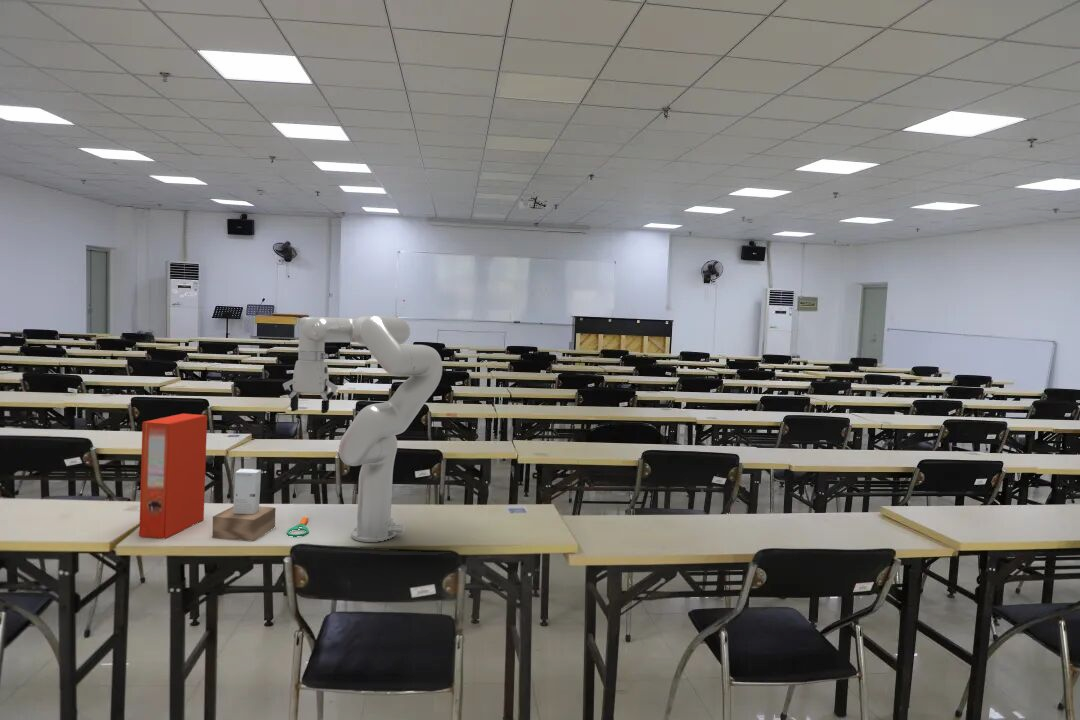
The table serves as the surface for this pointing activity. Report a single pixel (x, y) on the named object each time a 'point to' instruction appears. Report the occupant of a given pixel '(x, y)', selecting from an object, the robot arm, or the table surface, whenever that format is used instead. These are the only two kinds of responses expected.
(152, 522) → the file binder
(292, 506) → the table surface
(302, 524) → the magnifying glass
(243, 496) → the skincare box
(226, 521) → the walnut block
